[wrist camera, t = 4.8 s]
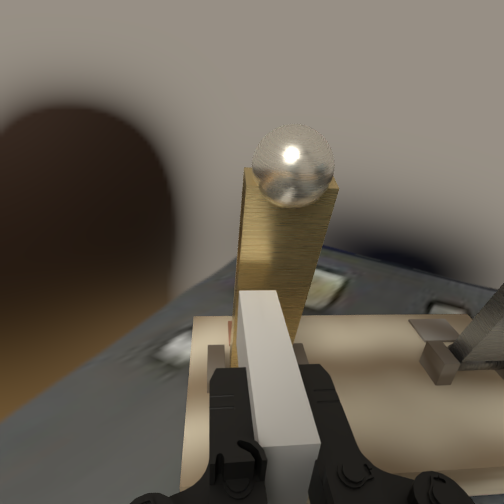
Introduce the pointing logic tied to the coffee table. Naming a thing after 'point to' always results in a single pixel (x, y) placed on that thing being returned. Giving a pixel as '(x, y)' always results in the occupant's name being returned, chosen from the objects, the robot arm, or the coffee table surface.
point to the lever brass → (284, 220)
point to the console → (379, 394)
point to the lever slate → (483, 338)
